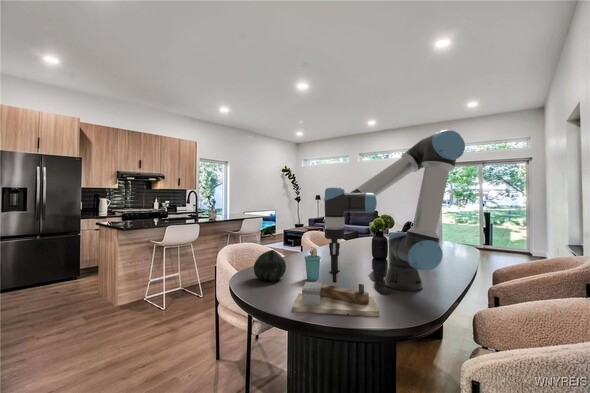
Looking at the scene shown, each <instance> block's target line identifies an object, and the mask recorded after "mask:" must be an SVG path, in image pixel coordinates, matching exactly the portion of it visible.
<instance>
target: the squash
mask: <svg viewBox="0 0 590 393" xmlns="http://www.w3.org/2000/svg"><path fill="white" fill-rule="evenodd" d="M286 270H287V265H286V261H285V260H284V258H283V257H282V255H281V254H280V253H279V252H277V251H276V250H275V249H271V250H268V251H265V252H263V253H262V254H260V255H259V256H258V257H257V259H256V260H255V262H254V264H253V274H254V275H255V277H257V279H259V280H264V281H269V282H274V280H275V282H277V281H279V280H280V279H281V278H282V277H283V276H284V275H285V272H286Z"/></svg>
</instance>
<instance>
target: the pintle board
mask: <svg viewBox="0 0 590 393" xmlns="http://www.w3.org/2000/svg"><path fill="white" fill-rule="evenodd" d="M320 300H321V303H320V306H302V292H300V293H298V294H297V296H296V299H295V301H294V303H293V305H292V312H294V313H296V312H298V313H313V314H314V313H316V314H330V315H331V314H333V315H347V314H349V315H350V316H364V317H365V316H367V317H368V316H369V317H380V309H379V306H378V304H377V302H376V299H375V297H374V296H369V303H368V304H366V305H360V304H356V303H353V302H349V301H344V300H339V299H334V298H330V297H325V296H320ZM349 315H348V316H349Z"/></svg>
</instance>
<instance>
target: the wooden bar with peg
mask: <svg viewBox="0 0 590 393" xmlns="http://www.w3.org/2000/svg"><path fill="white" fill-rule="evenodd" d="M320 296H325V297H330V298H334V299H339V300H344V301H349V302H353V303H356V304H360V305H366V304H368V303H369V297H370V293H369V292H368V291H365V284H364V283H358V290H356V289H350V288H345V287H341V286H338V287H335V286H331V284H325V283H324V284H323V283H322V287H321V292H320Z"/></svg>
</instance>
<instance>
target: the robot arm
mask: <svg viewBox="0 0 590 393" xmlns="http://www.w3.org/2000/svg"><path fill="white" fill-rule="evenodd" d="M465 150H466V143H465V140H464V138H463V137H462V136H461V134H460V133H458V132H457V131H455V130H452V129H445V130H440V131H437V132H435V133H434V134H431V135H429V136H427V137H425V138H423V139H421V140H419V141H418V142H417V143H415V144H414V145H413V146H412V147H410V148H409V149H408V150H407V151H405V152H404V153H402V154H401V157H400V158H399V159H398V160H396V161H394V162H393V163H392V164H390V165H389V166H387V167H386V168H385V169H383V170H381V171H380V172H378V173H376V174H375V175H374V176H371V178H369V179H368V180H366V181H365V182H364V183H362V184H361V185H359V186H358V187H357V188H355V189H353V190H352V191H350V192H346V191H345V188H344V187H327V188H325V190H324V198H323V200H324V202H323V203H324V207H323V208H324V219H323V220H322V222H323V223H324V227H325V228H324V238H325V239H327V240H330V241H331V242H329V243H328V249H329V256H330V271H328V274H330V286H335V287H339V273H340V272H341V271H340V270H339V262H338V261H339V260H338V259H339V256H340V248H341V247H340V244H341V243H340V242H338V241H339V240H343V239H344V238H345V229H344V228H345V227H346V225H345V223H346V222H345V218H346V217H345V213H366V214H367V213H374V212H375V210H376V209H377V196H378V195H380V194H382V192H384V191H386V190H387V189H389V188H390V187H392V186H393V185H395V184H396V183H398V182H400V181H401V180H402V179H403V178H405V177H406V176H407V175H409V174H411V173H417V172H418V171H419V170H421V169H423V168H424V172H423V176H422V180H421V184H420V190H419V195H418V199H417V204H416V209H415V214H414V218H413V223H412V227H411V228H410V229H407V231H406V232H391V233H389V235H388V242H387V243H388V263H389V264H388V269H387V272H386V275H385V277H384V278H385V279H384V282H385V283H384V285H385V286H387V287H389V288H390V289H393V290H399V291H408V292H409V291H410V292H411V291H413V292H414V291H419V290H423V286H424V285H423V280H422V277H421V274H420V271H422V272H423V271H424V272H428V271H433V270H434V269H436V268H438V267H439V265H440V264H441V263H442V260H443V249H442V248H441V246H440V245H439V243H440V236H439V234H438V233H437V231H438V226H439V221H440V216H441V212H442V206H443V202H444V197H445V193H446V186H447V183H448V178H449V174H450V172H451V171H453V170H454V169H455V166H456V161H457V159H459V158H461V157H462V156H463V154H464V153H465Z"/></svg>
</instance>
